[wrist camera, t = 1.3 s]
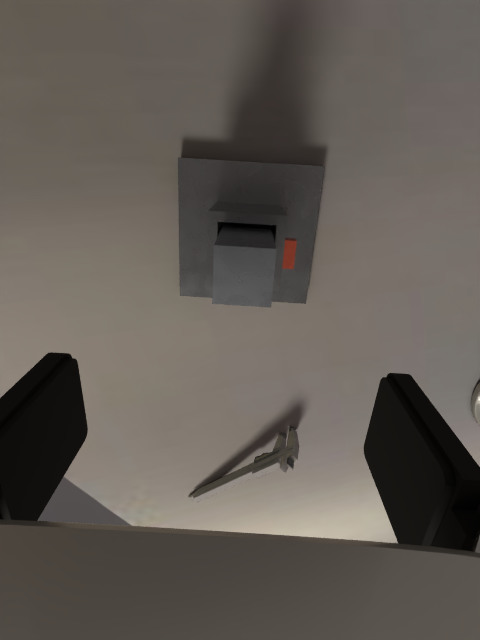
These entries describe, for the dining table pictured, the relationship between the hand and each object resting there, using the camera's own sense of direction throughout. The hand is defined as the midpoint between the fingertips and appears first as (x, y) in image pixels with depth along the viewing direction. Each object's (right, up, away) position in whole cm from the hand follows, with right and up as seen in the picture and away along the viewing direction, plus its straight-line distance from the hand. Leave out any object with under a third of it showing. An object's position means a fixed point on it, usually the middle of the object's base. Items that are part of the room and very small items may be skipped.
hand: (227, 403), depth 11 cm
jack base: (+1, +12, +27) cm, 30 cm away
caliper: (0, -18, +41) cm, 45 cm away
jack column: (+1, +11, +25) cm, 27 cm away
